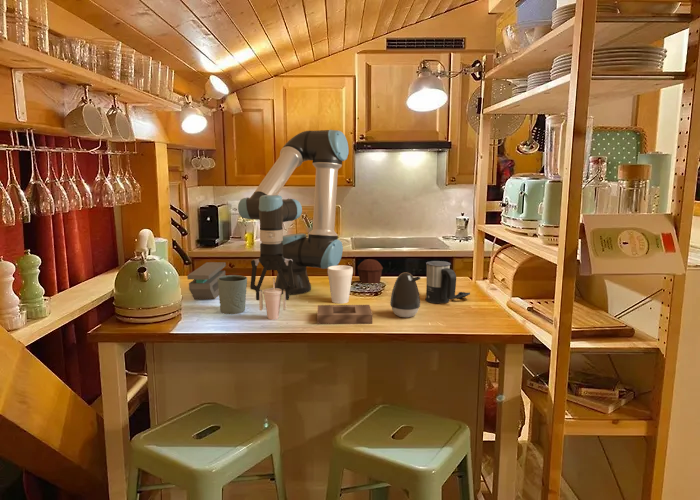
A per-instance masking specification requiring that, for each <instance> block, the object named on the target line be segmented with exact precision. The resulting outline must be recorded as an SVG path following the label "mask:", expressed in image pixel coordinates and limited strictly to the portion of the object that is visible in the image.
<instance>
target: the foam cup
mask: <svg viewBox="0 0 700 500" xmlns="http://www.w3.org/2000/svg"><path fill="white" fill-rule="evenodd" d="M353 273H354V267H353V266H351V265H346V264H345V265H343V264H341V265H339V264H338V265H336V266H330V267H328V269H327V277H328V283H329V290H330V297H331V303H334V304H337V305H343V304H347V303H349V301H350V294H351V286H352V285H351V284H352V278H353Z"/></svg>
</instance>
